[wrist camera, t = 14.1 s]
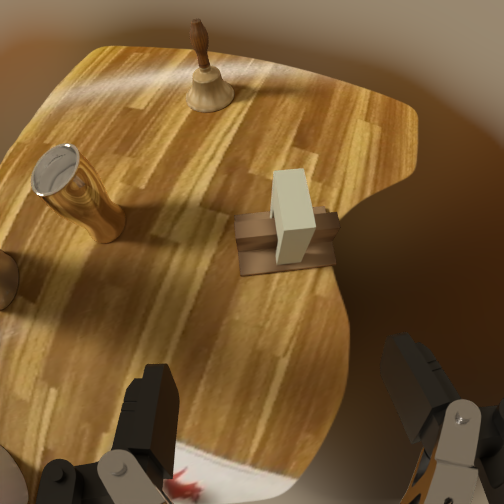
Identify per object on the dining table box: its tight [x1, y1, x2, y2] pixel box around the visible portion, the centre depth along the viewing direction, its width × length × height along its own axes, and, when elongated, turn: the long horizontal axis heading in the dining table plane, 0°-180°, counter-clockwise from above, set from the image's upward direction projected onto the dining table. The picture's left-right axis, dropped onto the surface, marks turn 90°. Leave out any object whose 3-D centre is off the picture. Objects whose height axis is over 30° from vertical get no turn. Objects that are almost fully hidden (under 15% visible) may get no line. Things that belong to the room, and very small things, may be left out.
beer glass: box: [31, 143, 126, 243], centre depth 35 cm, size 7×7×15 cm
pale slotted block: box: [270, 168, 316, 265], centre depth 35 cm, size 6×3×11 cm, turn 7°
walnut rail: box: [234, 206, 340, 276], centre depth 38 cm, size 12×8×5 cm, turn 96°
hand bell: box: [186, 19, 234, 112], centre depth 42 cm, size 8×8×16 cm
